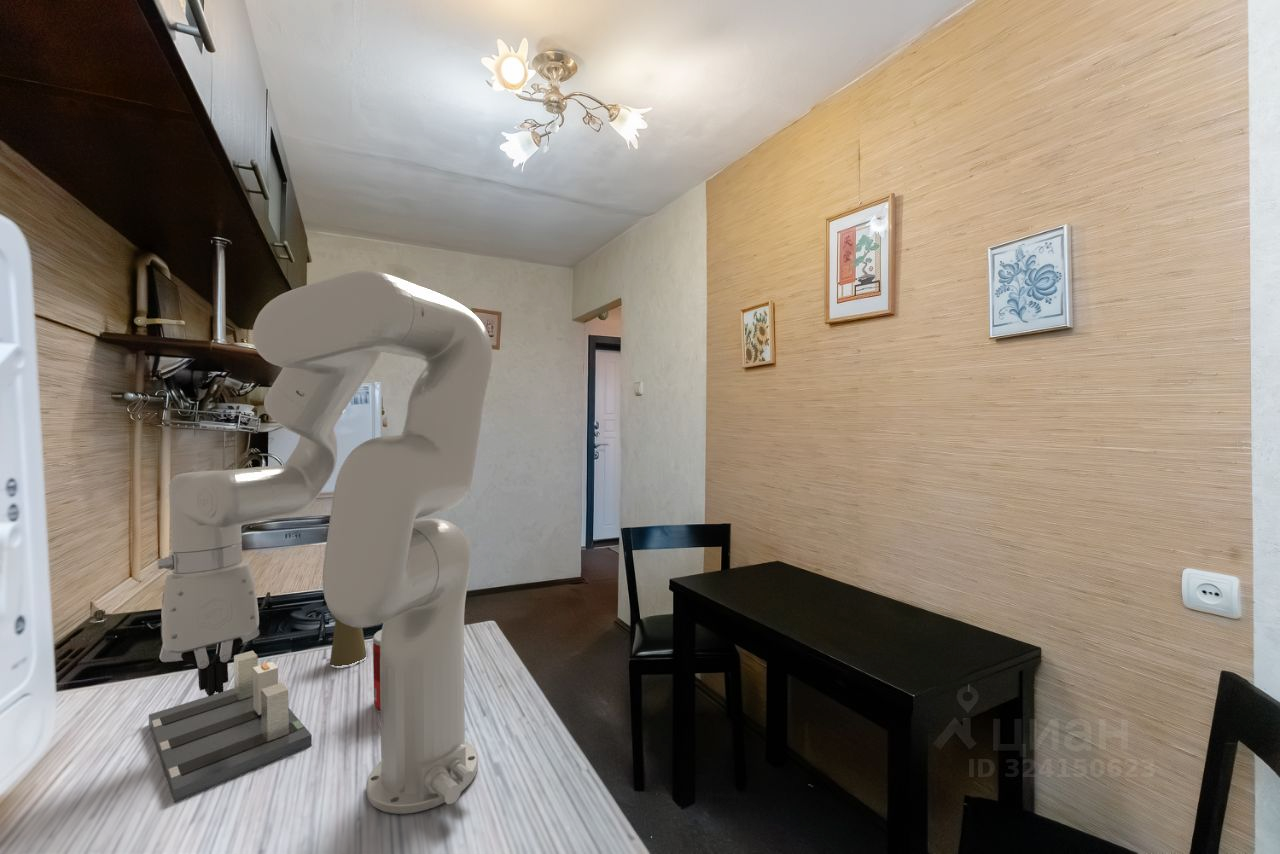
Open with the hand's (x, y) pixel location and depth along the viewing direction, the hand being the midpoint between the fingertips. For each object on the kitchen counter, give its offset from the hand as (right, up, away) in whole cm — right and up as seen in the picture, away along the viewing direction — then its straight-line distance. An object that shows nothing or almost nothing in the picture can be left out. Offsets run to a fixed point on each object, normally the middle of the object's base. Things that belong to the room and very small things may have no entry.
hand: (214, 690), depth 72 cm
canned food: (+22, -7, +9) cm, 25 cm away
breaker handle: (+4, -5, +4) cm, 8 cm away
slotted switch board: (+1, -7, +1) cm, 7 cm away
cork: (+5, -7, +24) cm, 25 cm away
